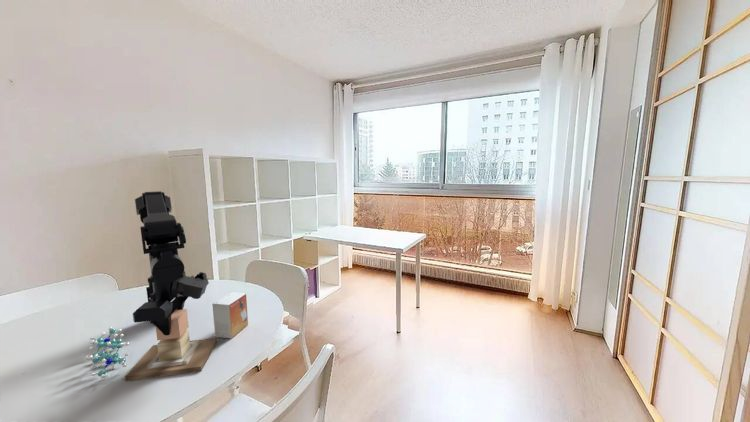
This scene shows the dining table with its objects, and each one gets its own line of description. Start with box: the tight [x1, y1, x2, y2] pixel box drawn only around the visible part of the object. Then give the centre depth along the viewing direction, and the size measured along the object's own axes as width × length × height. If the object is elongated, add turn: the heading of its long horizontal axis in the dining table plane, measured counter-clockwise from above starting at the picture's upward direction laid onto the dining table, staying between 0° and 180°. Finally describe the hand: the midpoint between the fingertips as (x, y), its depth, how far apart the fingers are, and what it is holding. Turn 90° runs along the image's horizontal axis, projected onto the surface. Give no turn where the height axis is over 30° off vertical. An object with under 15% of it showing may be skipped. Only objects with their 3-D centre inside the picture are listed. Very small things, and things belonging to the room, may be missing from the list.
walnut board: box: [124, 337, 219, 382], centre depth 73 cm, size 16×12×2 cm
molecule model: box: [84, 326, 130, 379], centre depth 71 cm, size 8×18×7 cm, turn 45°
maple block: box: [156, 329, 191, 362], centre depth 72 cm, size 5×5×5 cm
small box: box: [212, 292, 249, 340], centre depth 85 cm, size 8×6×10 cm
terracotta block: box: [154, 308, 190, 341], centre depth 71 cm, size 5×5×5 cm
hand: (172, 328), depth 72 cm, fingers closed on terracotta block, 5 cm apart
